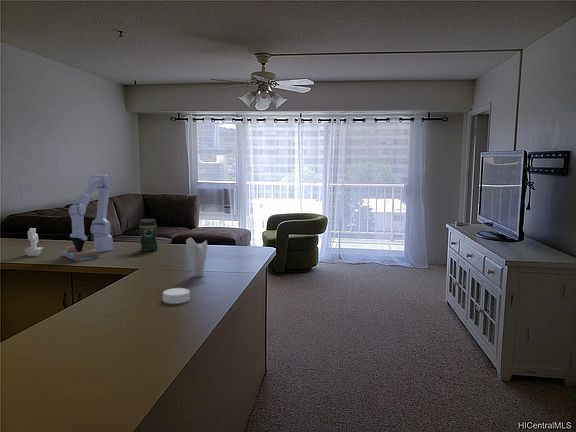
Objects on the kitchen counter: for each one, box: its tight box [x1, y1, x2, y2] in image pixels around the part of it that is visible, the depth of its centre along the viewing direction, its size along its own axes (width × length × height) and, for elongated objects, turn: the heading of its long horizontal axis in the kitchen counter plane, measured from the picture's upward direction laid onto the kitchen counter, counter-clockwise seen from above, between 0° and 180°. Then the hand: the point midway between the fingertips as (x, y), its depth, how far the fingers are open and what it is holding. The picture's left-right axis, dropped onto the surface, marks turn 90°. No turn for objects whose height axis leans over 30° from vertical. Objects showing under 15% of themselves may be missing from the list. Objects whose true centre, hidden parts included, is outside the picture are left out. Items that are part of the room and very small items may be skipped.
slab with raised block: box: [61, 245, 84, 258], centre depth 240 cm, size 9×5×5 cm, turn 143°
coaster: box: [162, 287, 191, 305], centre depth 166 cm, size 10×10×4 cm
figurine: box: [23, 227, 44, 257], centre depth 239 cm, size 7×9×15 cm
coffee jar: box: [138, 218, 158, 252], centre depth 255 cm, size 10×8×19 cm
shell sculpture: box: [185, 237, 208, 278], centre depth 200 cm, size 8×8×18 cm
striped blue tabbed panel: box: [66, 249, 100, 263], centre depth 234 cm, size 12×14×4 cm
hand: (79, 251), depth 236 cm, fingers closed
